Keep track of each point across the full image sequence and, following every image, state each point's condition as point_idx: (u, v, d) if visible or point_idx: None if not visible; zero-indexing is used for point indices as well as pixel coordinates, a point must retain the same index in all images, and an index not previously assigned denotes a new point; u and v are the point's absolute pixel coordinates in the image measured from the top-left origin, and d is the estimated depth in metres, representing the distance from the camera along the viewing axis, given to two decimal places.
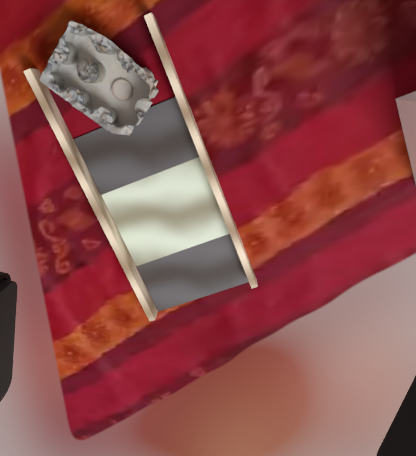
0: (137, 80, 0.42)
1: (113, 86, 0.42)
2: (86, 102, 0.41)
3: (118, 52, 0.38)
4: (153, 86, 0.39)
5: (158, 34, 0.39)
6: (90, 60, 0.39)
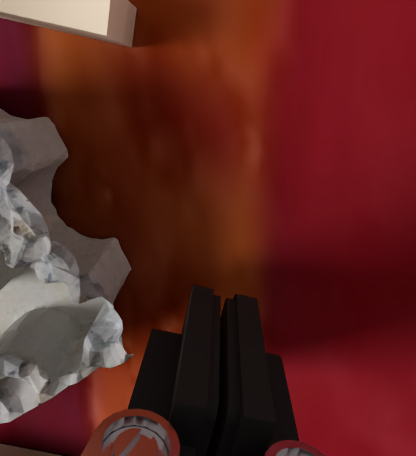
0: None
1: None
2: None
3: None
4: None
5: None
6: None
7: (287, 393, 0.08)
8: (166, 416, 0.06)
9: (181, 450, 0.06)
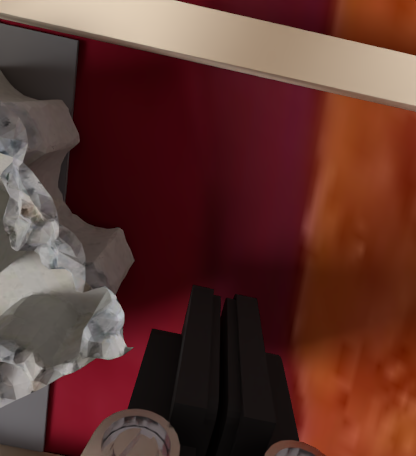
0: None
1: None
2: None
3: None
4: None
5: None
6: None
7: (287, 393, 0.08)
8: (166, 416, 0.06)
9: (181, 450, 0.06)
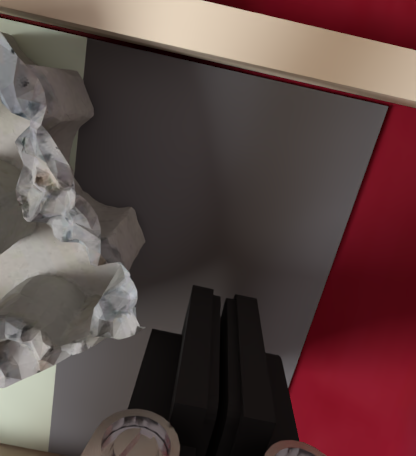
0: None
1: None
2: None
3: None
4: None
5: None
6: None
7: (287, 393, 0.08)
8: (166, 416, 0.06)
9: (181, 450, 0.06)
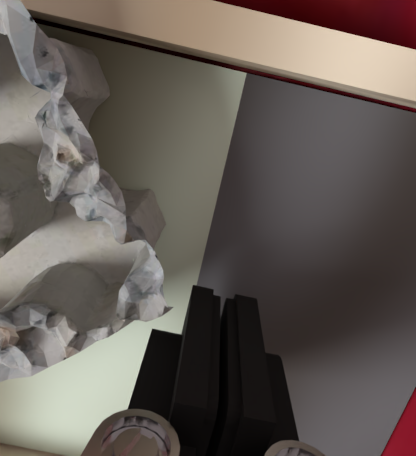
0: None
1: None
2: None
3: None
4: None
5: None
6: None
7: (287, 393, 0.08)
8: (166, 416, 0.06)
9: (181, 450, 0.06)
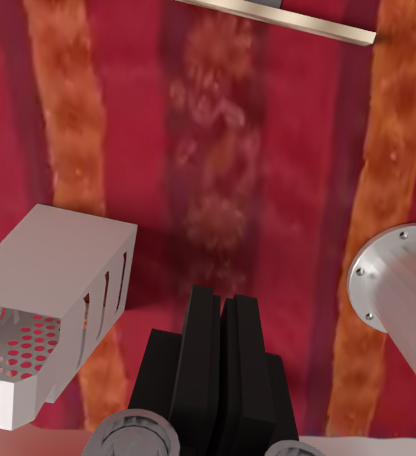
0: None
1: None
2: None
3: None
4: None
5: (349, 36, 0.32)
6: None
7: (287, 393, 0.08)
8: (166, 416, 0.06)
9: (181, 450, 0.06)
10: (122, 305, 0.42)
